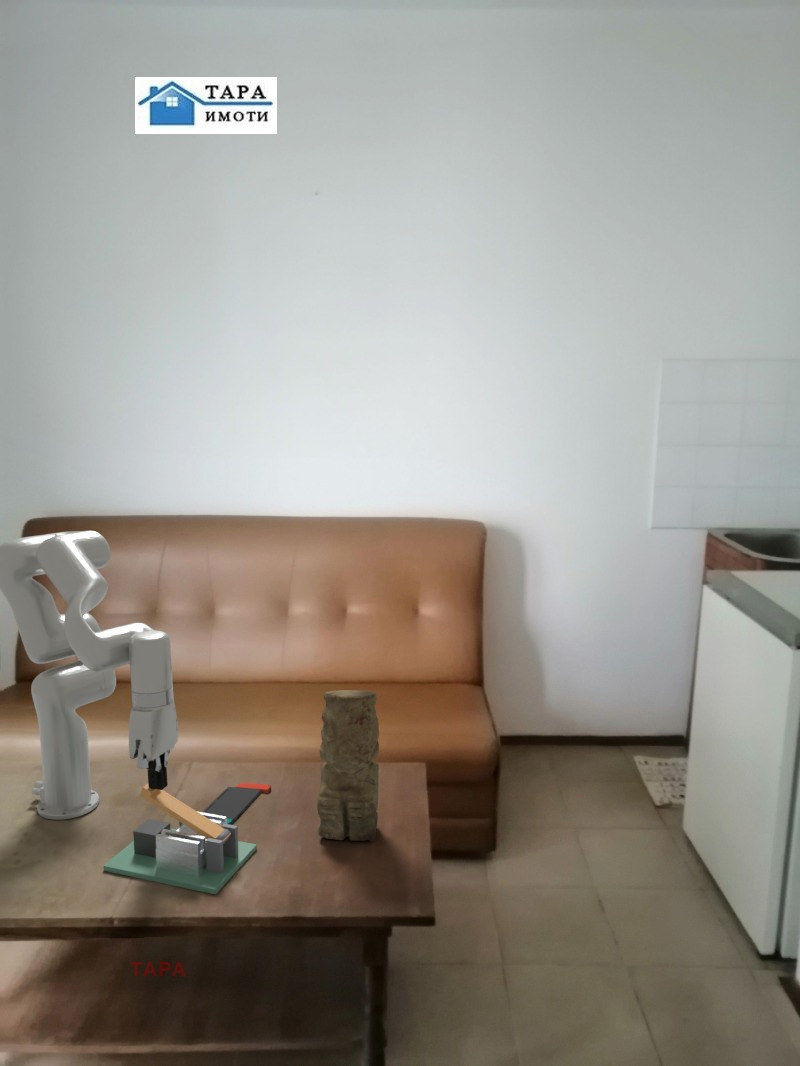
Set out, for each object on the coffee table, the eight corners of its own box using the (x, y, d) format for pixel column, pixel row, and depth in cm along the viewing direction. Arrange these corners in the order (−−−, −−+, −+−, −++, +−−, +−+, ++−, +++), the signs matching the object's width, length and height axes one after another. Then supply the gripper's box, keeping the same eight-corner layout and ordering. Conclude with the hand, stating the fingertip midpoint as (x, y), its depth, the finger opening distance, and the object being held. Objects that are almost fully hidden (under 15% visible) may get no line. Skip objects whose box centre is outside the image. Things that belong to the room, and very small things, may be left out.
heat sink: (156, 868, 160) (155, 836, 159) (188, 838, 170) (187, 809, 169) (198, 876, 157) (197, 844, 156) (228, 846, 167) (227, 816, 166)
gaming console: (192, 826, 178) (235, 831, 176) (192, 822, 178) (235, 826, 175) (233, 785, 197) (273, 789, 194) (233, 781, 196) (273, 784, 194)
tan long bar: (229, 839, 163) (233, 829, 162) (219, 848, 159) (224, 838, 159) (149, 789, 166) (153, 779, 166) (138, 797, 163) (142, 787, 162)
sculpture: (315, 844, 170) (313, 702, 165) (321, 821, 179) (319, 686, 174) (376, 845, 170) (376, 704, 165) (379, 822, 179) (379, 687, 174)
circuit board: (103, 870, 161) (101, 835, 160) (152, 829, 176) (151, 796, 175) (215, 894, 154) (214, 858, 152) (256, 849, 168) (255, 815, 167)
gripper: (158, 681, 169) (163, 768, 171) (111, 708, 154) (117, 802, 157) (191, 685, 166) (195, 773, 169) (146, 712, 152) (152, 808, 155)
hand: (158, 787), depth 163 cm, fingers closed
